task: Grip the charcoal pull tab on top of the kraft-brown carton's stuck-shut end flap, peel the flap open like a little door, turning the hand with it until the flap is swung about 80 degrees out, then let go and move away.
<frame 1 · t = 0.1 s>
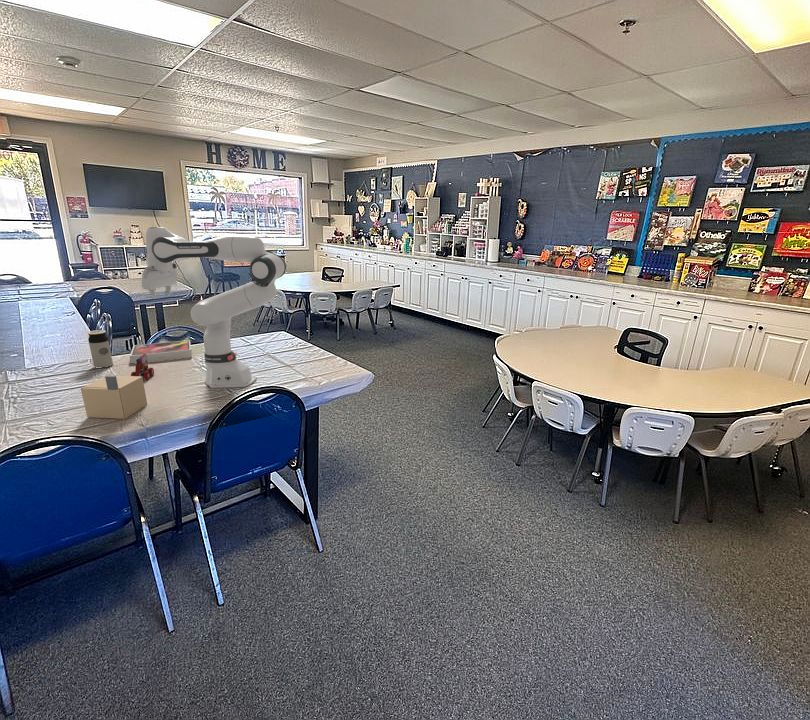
hand: (161, 296, 187), 39 cm above the table, tool pointing down, fingers open, 8 cm apart
travel mug: (103, 366, 214), on the table
product packaging: (163, 356, 233), on the table
carton flap: (101, 397, 155), point 9 cm above the table, hinge at 0.0°
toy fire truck: (143, 378, 199), on the table
carton: (118, 410, 164), on the table
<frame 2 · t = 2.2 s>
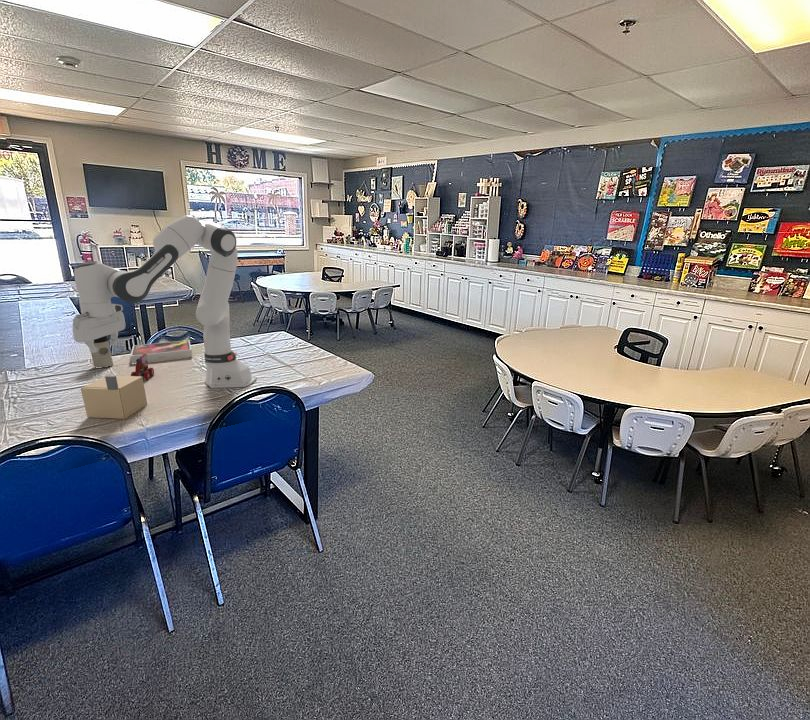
hand: (104, 348, 150), 27 cm above the table, tool pointing down, fingers open, 8 cm apart
nothing on the table moved.
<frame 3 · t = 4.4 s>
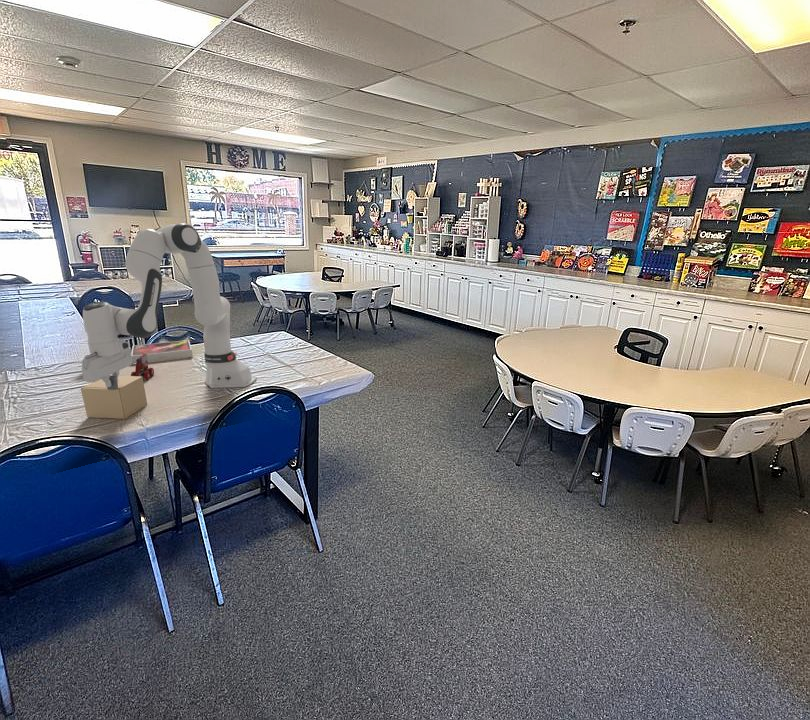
hand: (112, 385, 154), 14 cm above the table, tool pointing down, fingers closed on carton flap
carton flap: (101, 397, 155), point 9 cm above the table, hinge at 0.0°, touching gripper
everything else where it was.
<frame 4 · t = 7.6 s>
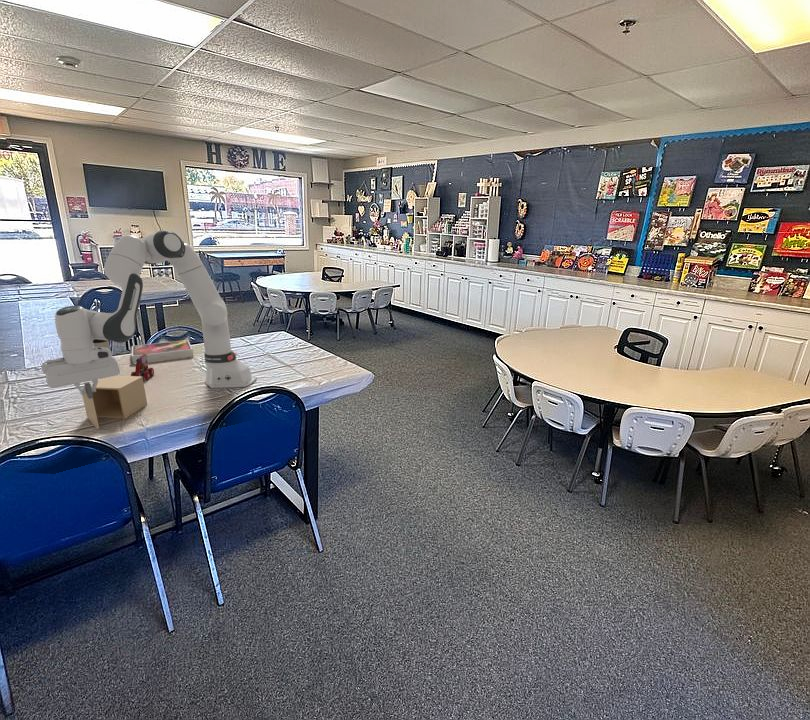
hand: (88, 392, 146), 14 cm above the table, tool pointing down, fingers closed
carton flap: (88, 401, 151), point 9 cm above the table, hinge at 39.3°, touching gripper
everything else where it was.
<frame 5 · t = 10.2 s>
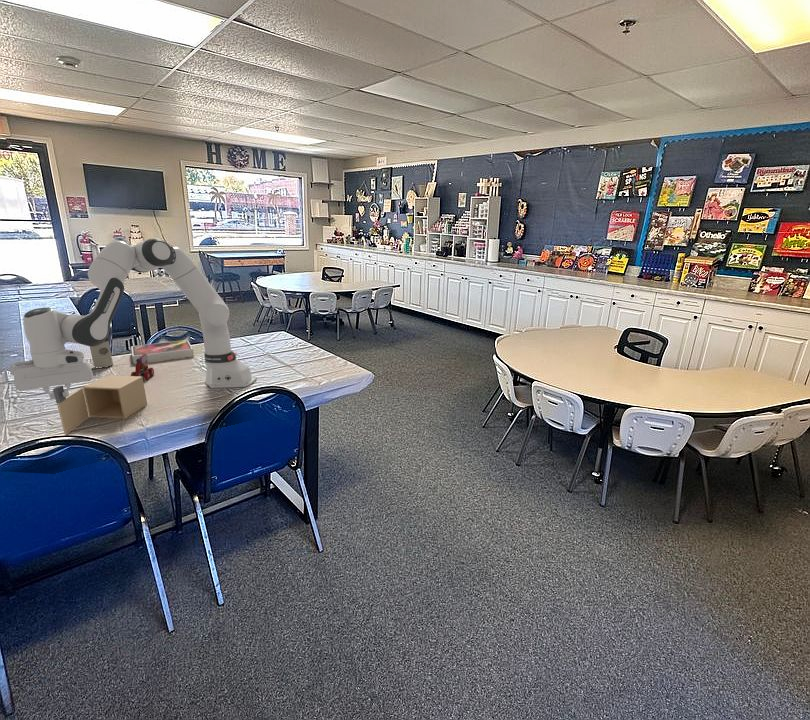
hand: (59, 397, 142), 14 cm above the table, tool pointing down, fingers closed on carton flap, 2 cm apart
carton flap: (72, 404, 149), point 9 cm above the table, hinge at 78.0°, touching gripper
everything else where it was.
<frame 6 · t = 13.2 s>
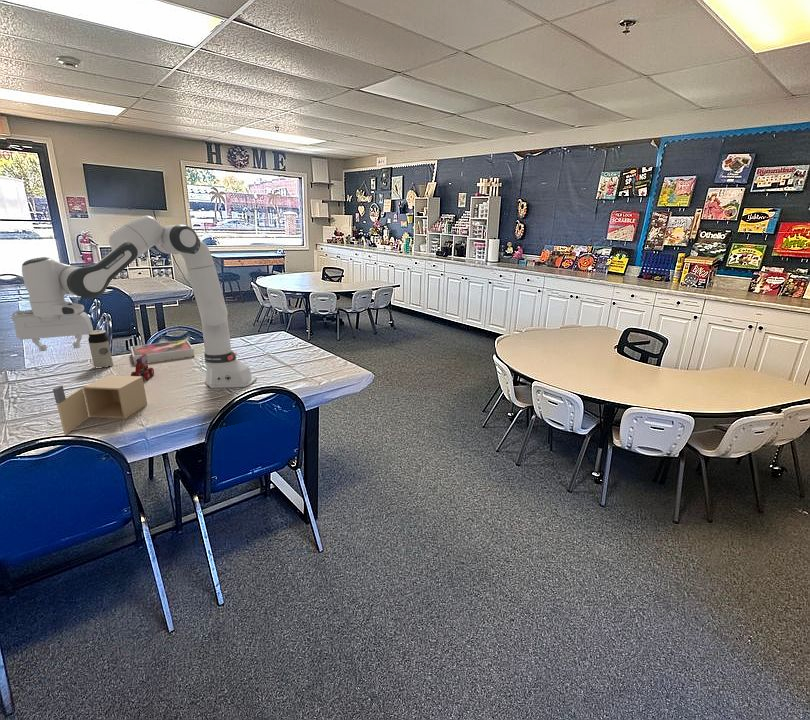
hand: (60, 349, 142), 29 cm above the table, tool pointing down, fingers open, 8 cm apart
carton flap: (72, 404, 149), point 9 cm above the table, hinge at 78.3°
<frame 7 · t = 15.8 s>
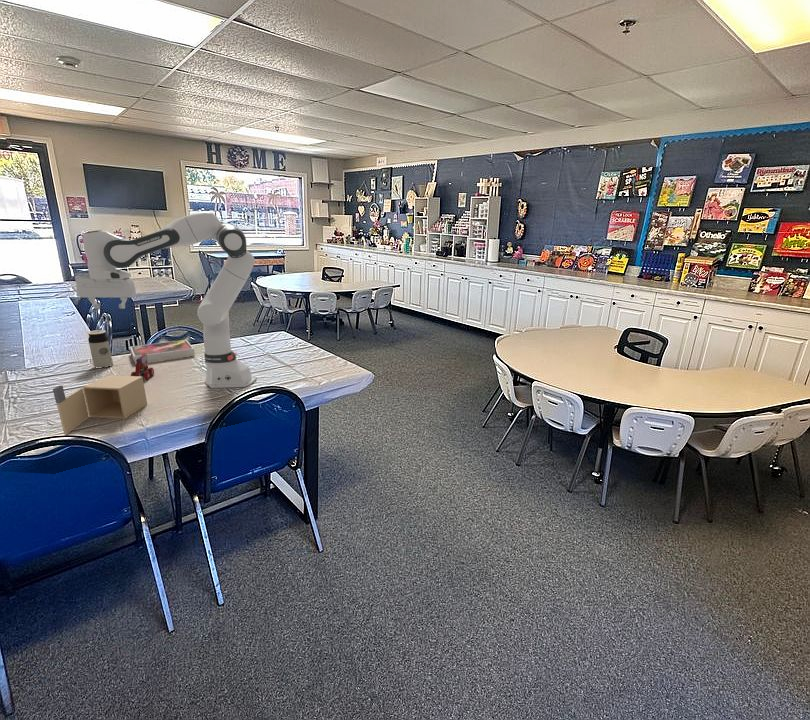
hand: (109, 308, 169), 37 cm above the table, tool pointing down, fingers open, 8 cm apart
at the end: carton flap at +78° (first picture: +0°); the gripper is holding nothing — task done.
